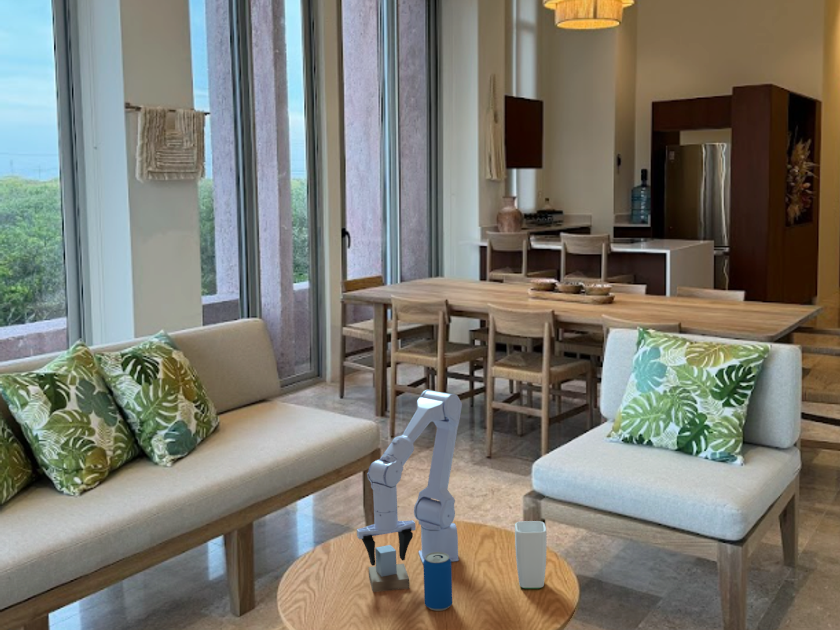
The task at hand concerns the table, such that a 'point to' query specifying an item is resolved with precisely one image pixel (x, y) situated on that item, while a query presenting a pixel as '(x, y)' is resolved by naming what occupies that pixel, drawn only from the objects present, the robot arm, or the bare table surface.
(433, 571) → the beverage can
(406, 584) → the taupe plinth
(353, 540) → the table surface
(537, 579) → the cup
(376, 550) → the slate-blue block
